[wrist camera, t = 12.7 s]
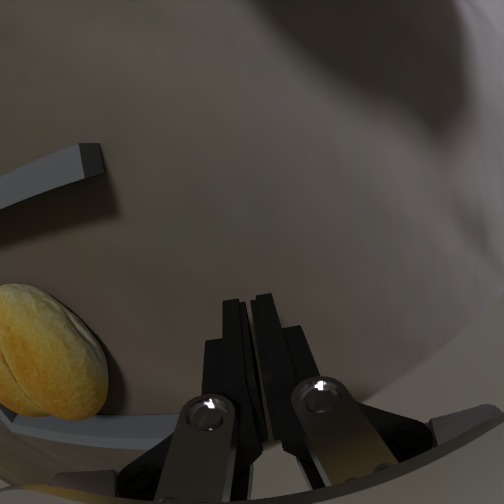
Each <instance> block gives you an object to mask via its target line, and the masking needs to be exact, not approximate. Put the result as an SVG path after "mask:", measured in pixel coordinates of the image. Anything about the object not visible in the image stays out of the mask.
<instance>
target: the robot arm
mask: <svg viewBox="0 0 504 504" xmlns="http://www.w3.org/2000/svg"><path fill="white" fill-rule="evenodd" d="M250 303H251V309H252V316H253V322H254V328H255V335H256V341H257V348H258V354H259V360H260V367H261V373H262V379H263V384H264V390H265V395H266V400H267V406H268V411H269V416H270V422H271V427H272V432H273V437H274V440H279V439H281V442H282V447H283V450H284V451H286V452H288V453H290V454H292V455H294V456H296V459H297V462H298V465H299V467H300V469H301V471H302V474H303V476H304V478H305V480H306V483H307V485H308V487H309V489H310V491H306V492H301V493H296V494H290V495H284V496H278V497H272V498H264V499H256V500H251V491H252V480H253V462H254V461H255V460H256V459H257V458H258V457H259V456H260V455H261V454H262V451H263V446H262V442H267V441H268V434H267V428H266V421H265V414H264V408H263V401H262V395H261V388H260V381H259V374H258V368H257V362H256V356H255V351H254V346H253V340H252V335H251V330H250V324H249V319H248V313H247V308H246V303H245V302H239V299H232V300H225V301H223V330H222V338H220V339H213V340H206V342H205V352H204V365H203V380H202V395H200V396H197V397H195V398H193V399H191V400H190V401H188V402H187V403H186V404H185V405H184V406H183V408H182V410H181V412H180V414H179V417H178V421H177V424H176V427H175V430H174V432H173V433H172V434H171V435H169V436H168V437H167V438H165V439H164V440H162V441H161V442H160V443H158V444H157V445H156V446H154V447H153V448H151V449H150V450H149V451H147V452H146V453H144V454H143V455H142V456H140V457H139V458H137V459H136V460H134V461H133V462H132V463H130V464H129V465H127V466H126V467H125V468H124V469H122V470H121V471H120V472H116V471H115V470H114V469H110V470H98V471H79V472H60V473H57V474H55V475H53V476H52V477H51V479H50V480H49V481H48V485H45V484H18V485H12V486H8V487H5V488H2V489H0V504H504V412H502V411H501V410H500V409H499V408H497V407H496V406H495V405H491V404H483V405H479V406H476V407H473V408H469V409H466V410H462V411H459V412H455V413H451V414H448V415H444V416H440V417H436V418H431V419H430V421H429V422H427V423H422V422H420V421H417V420H414V419H411V418H407V417H403V416H400V415H397V414H393V413H390V412H386V411H383V410H380V409H377V408H373V407H371V406H367V405H364V404H361V403H358V402H356V401H355V400H354V398H353V397H352V395H351V394H350V393H349V391H348V390H347V388H346V387H345V386H344V385H343V384H342V383H341V382H340V381H338V380H336V379H334V378H331V377H327V376H320V374H319V371H318V369H317V366H316V364H315V361H314V358H313V356H312V353H311V351H310V348H309V345H308V343H307V340H306V338H305V335H304V333H303V330H302V328H301V326H300V325H298V326H293V327H287V328H281V325H280V321H279V318H278V314H277V311H276V307H275V304H274V301H273V297H272V294H271V293H268V294H262V295H256V300H251V301H250Z"/></svg>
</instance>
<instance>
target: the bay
mask: <svg viewBox="0 0 504 504" xmlns="http://www.w3.org/2000/svg"><path fill="white" fill-rule="evenodd" d="M102 173H104V168H103V163H102V157H101V152H100V146H99V143H78V144H75V145H72V146H70V147H67V148H64V149H62V150H59V151H57V152H54V153H52V154H49V155H47V156H44V157H42V158H40V159H37V160H35V161H33V162H30V163H28V164H26V165H24V166H22V167H19V168H17V169H15V170H13V171H11V172H9V173H7V174H5V175H3V176H1V177H0V210H1V209H3V208H5V207H8V206H10V205H13V204H15V203H18V202H20V201H23V200H25V199H28V198H30V197H33V196H36V195H38V194H41V193H44V192H46V191H49V190H52V189H55V188H58V187H61V186H64V185H67V184H70V183H73V182H76V181H79V180H82V179H85V178H89V177H92V176H95V175H99V174H102ZM178 417H179V414H163V415H94V416H92V417H90V418H87V419H84V420H80V421H69V420H64V419H61V418H58V417H56V416H54V415H52V414H51V415H49V416H45V417H28V416H24V415H20V414H18V413H16V412H14V411H12V410H10V409H9V408H7V407H5V406H4V405H2V404H1V403H0V418H1V420H2V421H3V422H4V423H5V424H6V426H7V427H8V428H9V429H10V430H11V431H12V432H15V433H19V434H23V435H28V436H32V437H37V438H41V439H47V440H52V441H58V442H64V443H70V444H78V445H85V446H95V447H105V448H120V449H148V450H150V449H151V448H153V447H154V446H156V445H157V444H158V443H160V442H161V441H162V440H164V439H165V438H167V437H168V436H169V435H171V434H172V433H173V432H174V430H175V427H176V424H177V421H178Z"/></svg>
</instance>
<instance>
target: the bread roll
mask: <svg viewBox="0 0 504 504" xmlns="http://www.w3.org/2000/svg"><path fill="white" fill-rule="evenodd" d="M108 385H109V383H108V367H107V361H106V357H105V354H104V352H103V350H102V348H101V346H100V344H99V343H98V341H97V340H96V339H95V337H94V336H93V335H92V333H91V332H90V331H89V330H88V328H87V327H86V326H85V325H84V323H83V322H82V321H81V320H80V319H79V318H78V317H77V316H76V315H75V314H73V313H72V312H71V311H69V310H68V309H67V308H66V307H64V306H63V305H62V304H61V303H59V302H58V301H56V300H55V299H54V298H52V297H51V296H50V295H48V294H47V293H45V292H44V291H42V290H40V289H38V288H36V287H33V286H29V285H23V284H4V285H2V286H0V403H1V404H2V405H4V406H5V407H7V408H9V409H10V410H12V411H14V412H16V413H18V414H20V415H24V416H28V417H45V416H49V415H51V414H52V415H54V416H56V417H58V418H61V419H64V420H69V421H80V420H84V419H87V418H90V417H92V416H94V415H95V414H96V413H97V412H98V411H99V410H100V409H101V407H102V406H103V404H104V403H105V400H106V398H107V394H108Z"/></svg>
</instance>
